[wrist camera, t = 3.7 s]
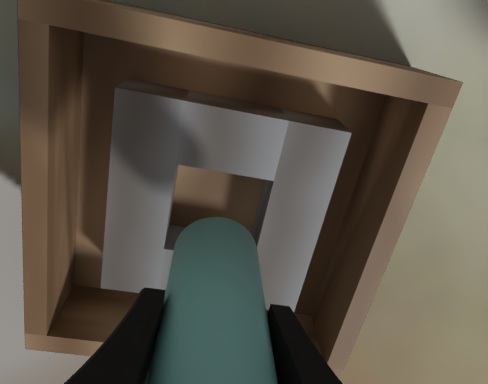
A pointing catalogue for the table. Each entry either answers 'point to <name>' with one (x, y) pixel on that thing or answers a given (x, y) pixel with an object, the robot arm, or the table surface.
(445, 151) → the table surface
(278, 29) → the table surface
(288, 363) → the robot arm
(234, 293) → the peg
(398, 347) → the table surface
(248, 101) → the box
